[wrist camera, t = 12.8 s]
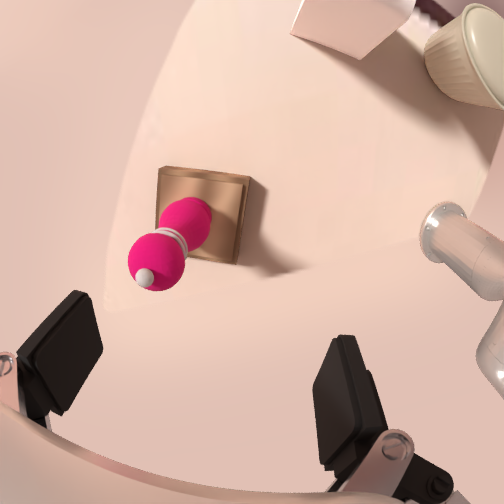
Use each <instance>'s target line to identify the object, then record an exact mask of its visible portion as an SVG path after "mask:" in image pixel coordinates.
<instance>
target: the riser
mask: <svg viewBox="0 0 504 504" xmlns="http://www.w3.org/2000/svg"><path fill="white" fill-rule="evenodd" d="M249 181H250V176H244V175H237V174H230V173H223V172H216V171H208V170H200V169H191V168H182V167H173V166H164V167H162V168H159V171H158V184H157V200H156V224H155V230H156V229H158V226H159V220H160V217H161V214H162V213H163V211H164V210H165V209H166V208H167V207H168V206H169V205H170V204H171V203H173V202H175V201H178V200H181V199H183V198H186V197H196V198H199V199H201V200H203V201H204V202H205V203H206V204H207V205H208V207H209V208H210V211H211V214H212V221H211V224H210V232H209V235H208V237H207V239H206V240H205V242H204V243H203V244H202V245H201V246H200V247H199V248H197V249H195V250H193V251H190V252H188V253H187V257H192V258H198V259H204V260H210V261H216V262H222V263H229V264H235V265H236V263H237V258H238V252H239V245H240V239H241V232H242V226H243V219H244V213H245V207H246V200H247V194H248V188H249Z"/></svg>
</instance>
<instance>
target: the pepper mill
mask: <svg viewBox="0 0 504 504" xmlns="http://www.w3.org/2000/svg"><path fill="white" fill-rule="evenodd" d="M211 221H212V214H211V211H210V208H209V207H208V205H207V204H206V203H205V202H204V201H203V200H201V199H199V198H196V197H186V198H183V199H181V200H178V201H175V202H173V203H171V204H170V205H169V206H168V207H167V208H166V209H165V210H164V211H163V213H162V214H161V217H160V220H159V226H158V229H156V230H154V231H153V232H152V233H149V234H146V235H144V236H142V237H140V238H139V239H138V240H137V241H136V242H135V243H134V245H133V246H132V248H131V250H130V252H129V256H128V266H129V271H130V273H131V275H132V277H133V279H134V280H135V281H136V282H137V284H138V285H139V286H141V287H143V288H145V289H148V290H151V291H163V290H167V289H169V288H171V287H172V286H174V285H175V284H176V283H177V282H178V281H179V280H180V278H181V277H182V274H183V272H184V268H185V260H186V257H187V253H188V252H190V251H193V250H195V249H197V248H199V247H200V246H201V245H202V244H203V243H204V242H205V240H206V239H207V237H208V235H209V232H210V224H211Z"/></svg>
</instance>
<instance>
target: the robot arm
mask: <svg viewBox="0 0 504 504" xmlns="http://www.w3.org/2000/svg"><path fill="white" fill-rule="evenodd" d="M420 246H421V249H422V251H423V253H424V255H425V256H426V257H427V258H428V259H429V260H431V261H433V262H436V263H443V262H444V263H445V264H446V265H447V266H449V267H450V268H451V269H452V270H453V271H454V272H455V273H456V274H457V275H458V276H459V277H460V278H461V279H462V280H463V281H464V282H466V283H467V284H468V285H469V286H470V287H471V288H472V289H473V290H474V291H475V292H476V293H477V294H478V295H479V296H480V297H481V298H483V299H485V300H488V301H498V300H503V303H502V305H501V307H500V309H499V311H498V313H497V315H496V316H495V318H494V320H493V322H492V323H491V325H490V327H489V329H488V330H487V332H486V333H485V335H484V337H483V338H482V340H481V342H480V343H479V346H478V348H477V351H476V361H477V364H478V366H479V368H480V370H481V371H482V373H483V374H484V375H485V377H486V378H487V379H488V381H489V382H490V383H491V384H492V385H493V387H495V389H496V390H497V391H498V393H499V394H500V395H501V397H502V398H503V399H504V241H502V240H500V239H499V238H497V237H496V236H494V235H493V234H491V233H489V232H488V231H486V230H484V229H483V228H481V227H480V226H478V225H476V224H475V223H473V222H471V221H470V220H468V219H467V217H466V214H465V212H464V210H463V209H462V208H461V207H460V206H459V205H457V204H455V203H452V202H443V203H440V204H438V205H437V206H435V207H434V208H433V209H432V210H431V211H430V212H429V213H428V215H427V216H426V218H425V220H424V222H423V224H422V227H421V232H420ZM102 352H103V344H102V341H101V337H100V334H99V330H98V326H97V322H96V317H95V313H94V309H93V305H92V300H91V298H90V297H89V296H88V294H87V293H85V292H81V291H78V290H74V291H72V292H71V293H70V294H69V295H68V296H67V297H66V298H65V299H64V300H63V301H62V302H61V303H60V305H58V306H57V307H56V308H55V310H54V311H53V312H52V313H51V314H50V315H49V316H48V317H47V318H46V319H45V320H44V321H43V322H42V323H41V324H40V326H39V327H38V328H37V329H36V330H35V331H34V332H33V333H32V334H31V336H30V337H29V338H28V339H27V340H26V341H25V342H24V343H23V345H22V346H21V347H20V348H19V349H18V351H17V352H16V353H17V355H18V357H17V358H15V356H14V355H13V354H12V353H9V352H2V353H0V504H470V503H469V502H468V501H467V500H466V499H465V498H464V496H463V495H462V494H461V493H460V492H459V491H458V490H457V491H455V492H454V491H453V487H454V483H453V480H452V477H451V476H450V474H449V473H447V472H446V471H444V470H443V469H441V468H439V467H437V466H435V465H434V464H432V463H430V462H429V461H427V460H425V459H423V458H422V457H420V456H418V455H417V454H415V453H414V443H413V440H412V438H411V437H410V436H409V435H408V434H407V433H405V432H404V431H401V430H398V429H390V430H389V429H388V426H387V423H386V419H385V415H384V412H383V409H382V405H381V402H380V399H379V396H378V392H377V389H376V386H375V383H374V380H373V377H372V374H371V372H370V371H369V370H366V367H365V364H364V361H363V358H362V355H361V353H360V349H359V347H358V344H357V341H356V338H355V336H353V335H338V337H337V338H333V339H332V342H331V344H330V347H329V349H328V351H327V354H326V356H325V359H324V361H323V364H322V366H321V368H320V370H319V373H318V375H317V377H316V379H315V381H314V384H313V400H314V409H315V418H316V428H317V438H318V448H319V460H320V464H322V465H324V466H325V467H324V468H325V471H333V470H334V475H335V478H336V479H335V481H333V483H332V484H331V485H330V486H329V488H328V489H327V490H326V491H325V492H324V493H272V492H254V491H243V490H233V489H225V488H218V487H211V486H205V485H200V484H194V483H190V482H185V481H180V480H176V479H172V478H168V477H164V476H160V475H156V474H153V473H149V472H146V471H143V470H140V469H136V468H133V467H130V466H128V465H125V464H122V463H119V462H116V461H114V460H111V459H109V458H106V457H104V456H101V455H99V454H96V453H94V452H91V451H89V450H87V449H85V448H83V447H81V446H78V445H76V444H74V443H72V442H70V441H68V440H66V439H64V438H62V437H60V436H59V435H57V434H55V433H53V432H52V429H51V424H50V420H49V415H48V413H49V412H50V410H51V411H52V412H54V413H56V414H58V415H60V416H62V415H63V413H64V411H67V410H68V409H69V408H70V406H71V404H72V403H73V401H74V399H75V397H76V396H77V394H78V392H79V390H80V389H81V387H82V385H83V384H84V382H85V380H86V379H87V377H88V375H89V374H90V372H91V370H92V369H93V367H94V366H95V364H96V362H97V361H98V359H99V357H100V356H101V354H102Z"/></svg>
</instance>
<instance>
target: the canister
mask: <svg viewBox="0 0 504 504" xmlns="http://www.w3.org/2000/svg"><path fill="white" fill-rule="evenodd" d="M424 51H425V52H424V60H425V64H426V67H427V70H428V72H429V75H430V76H431V79H432V80H433V81H434V83H435V84H436V85H437V87H438V88H439V89H440V90H441V91H442V92H443V93H445V94H446V95H447V96H449V97H450V98H452V99H455V100H456V101H460V102H464V103H469V104H474V105H479V106H484V107H490V108H494V109H499V110H503V111H504V19H503V18H502V17H501V16H500V15H499V14H497V13H496V12H495V11H493V10H492V9H490V8H488V7H486V6H484V5H481V4H476V3H474V4H470V5H468V6H466V7H465V9H464V10H463V12H462V14H461V15H460V16H458V17H457V18H455V19H454V20H452V21H451V22H449V23H448V24H446V25H445V26H443V27H442V28H441V29H439V30H438V31H437V32H436V33H434V34H433V35H432V36H431V37H430V38H429V39H428V41H427V43H426V45H425V49H424Z"/></svg>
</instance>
